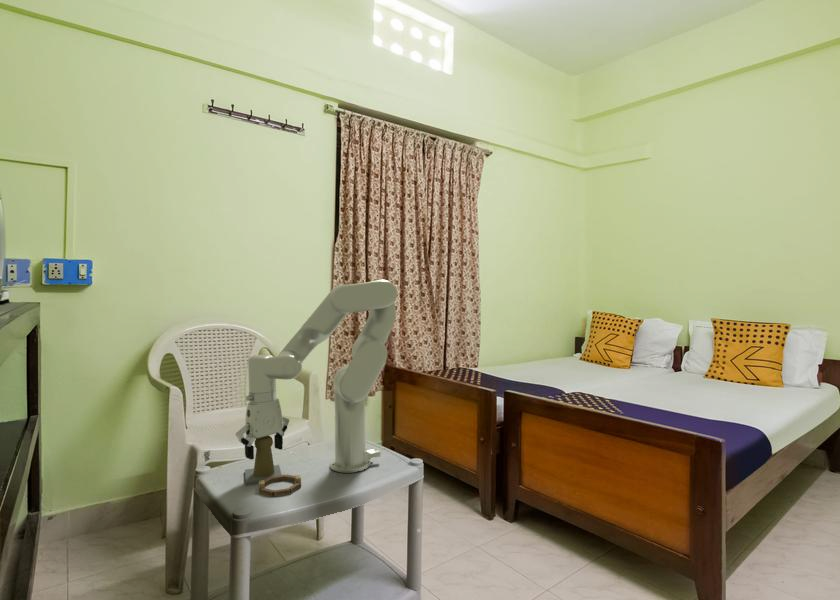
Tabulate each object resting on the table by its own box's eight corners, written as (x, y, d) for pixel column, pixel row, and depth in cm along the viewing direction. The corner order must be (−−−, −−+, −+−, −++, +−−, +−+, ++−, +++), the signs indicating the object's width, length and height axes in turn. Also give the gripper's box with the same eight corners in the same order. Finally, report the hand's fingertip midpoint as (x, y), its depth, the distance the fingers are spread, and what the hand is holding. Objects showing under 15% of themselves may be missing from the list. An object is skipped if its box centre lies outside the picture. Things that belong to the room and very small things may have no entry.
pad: (279, 467, 143) (279, 464, 143) (282, 479, 134) (282, 477, 134) (244, 472, 139) (244, 469, 139) (245, 485, 130) (245, 482, 130)
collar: (298, 476, 136) (298, 469, 136) (303, 491, 126) (303, 483, 126) (258, 482, 132) (258, 475, 132) (260, 499, 122) (260, 490, 122)
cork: (274, 475, 135) (274, 438, 134) (253, 478, 133) (252, 440, 133) (274, 468, 140) (274, 432, 140) (253, 470, 139) (253, 434, 138)
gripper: (242, 404, 127) (244, 465, 127) (294, 392, 140) (296, 447, 141) (228, 401, 131) (230, 459, 132) (280, 389, 145) (281, 442, 146)
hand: (264, 453), depth 137 cm, fingers open, 9 cm apart
